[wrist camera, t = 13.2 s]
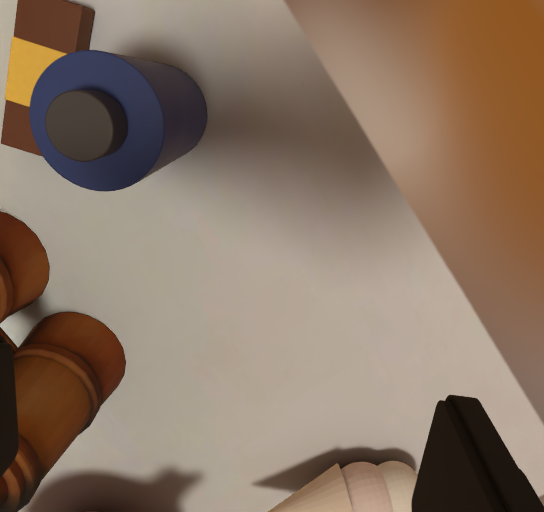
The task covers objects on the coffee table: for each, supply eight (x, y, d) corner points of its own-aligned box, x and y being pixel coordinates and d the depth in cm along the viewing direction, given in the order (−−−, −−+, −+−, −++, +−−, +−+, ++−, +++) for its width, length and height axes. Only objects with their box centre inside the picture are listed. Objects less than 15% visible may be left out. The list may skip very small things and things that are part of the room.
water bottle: (210, 69, 33) (155, 55, 20) (204, 163, 35) (151, 207, 22) (116, 58, 33) (-1, 37, 20) (116, 153, 35) (9, 191, 22)
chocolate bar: (35, -9, 32) (18, -15, 30) (96, 11, 32) (83, 6, 30) (15, 140, 35) (-1, 143, 33) (71, 157, 35) (58, 161, 33)
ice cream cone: (242, 483, 44) (401, 445, 45) (256, 560, 42) (423, 518, 43) (237, 489, 38) (419, 445, 39) (252, 578, 36) (444, 529, 37)
